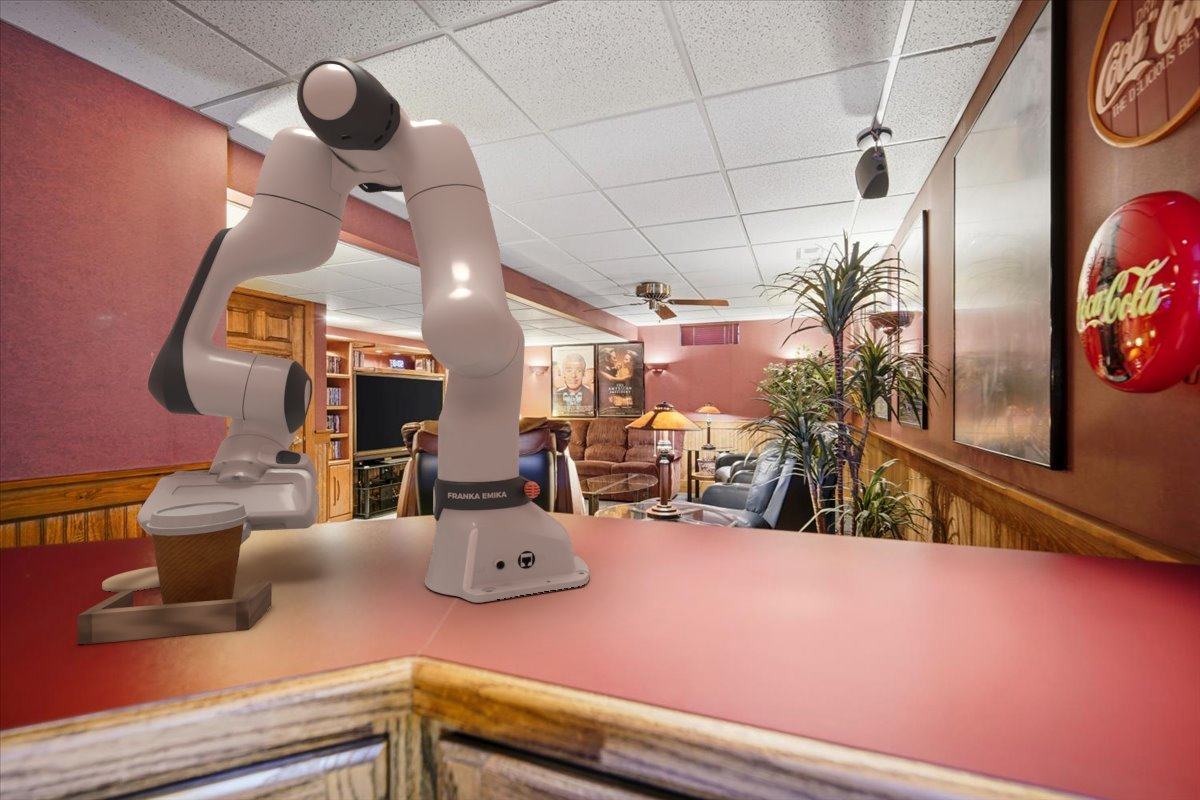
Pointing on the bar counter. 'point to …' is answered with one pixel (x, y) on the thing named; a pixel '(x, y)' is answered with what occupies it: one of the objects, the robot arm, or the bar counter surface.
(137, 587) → the cork coaster
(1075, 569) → the bar counter surface
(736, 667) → the bar counter surface
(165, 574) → the disposable coffee cup
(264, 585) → the walnut bay
